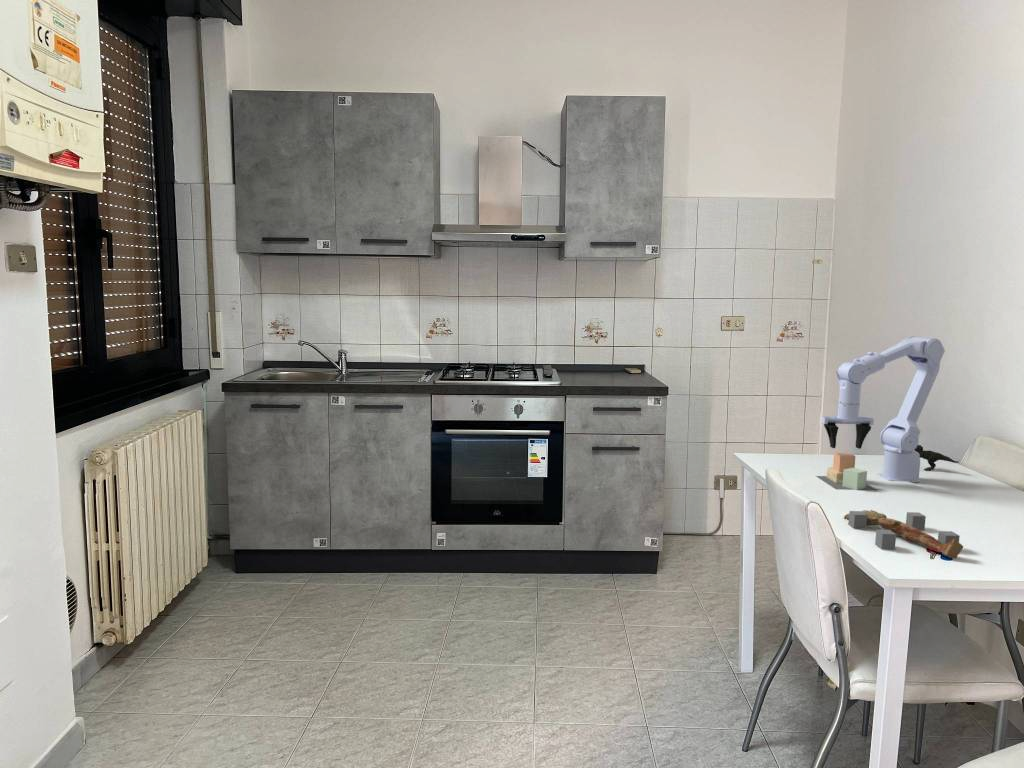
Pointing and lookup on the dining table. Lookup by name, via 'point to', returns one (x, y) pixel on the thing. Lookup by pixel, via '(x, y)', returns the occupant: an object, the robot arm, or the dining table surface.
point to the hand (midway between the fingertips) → (845, 447)
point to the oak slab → (834, 475)
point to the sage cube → (854, 478)
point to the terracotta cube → (843, 461)
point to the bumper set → (887, 537)
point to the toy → (932, 457)
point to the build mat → (839, 485)
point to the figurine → (911, 533)
